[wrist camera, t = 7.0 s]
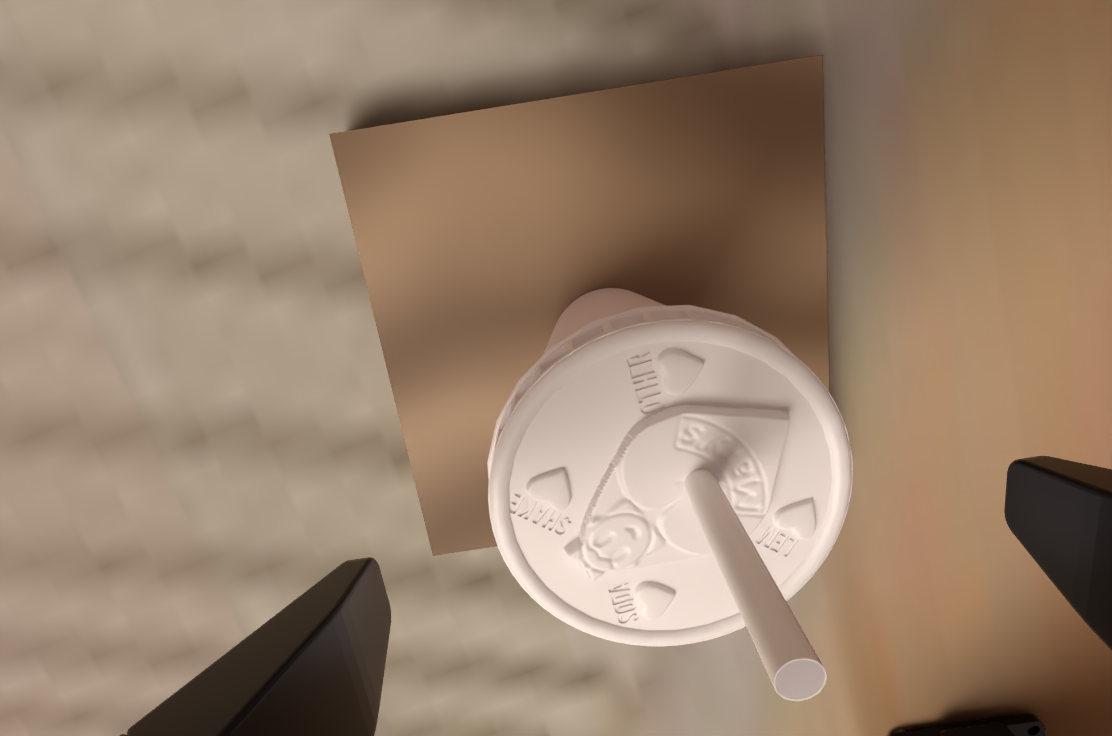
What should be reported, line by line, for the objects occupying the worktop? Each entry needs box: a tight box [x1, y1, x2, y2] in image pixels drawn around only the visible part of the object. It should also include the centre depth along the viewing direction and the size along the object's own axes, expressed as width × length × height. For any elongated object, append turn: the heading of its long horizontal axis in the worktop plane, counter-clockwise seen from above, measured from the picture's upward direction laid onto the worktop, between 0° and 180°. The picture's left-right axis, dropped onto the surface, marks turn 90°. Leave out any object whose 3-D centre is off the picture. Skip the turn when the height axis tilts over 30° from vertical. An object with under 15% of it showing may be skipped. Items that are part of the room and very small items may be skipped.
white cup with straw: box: [487, 288, 853, 701], centre depth 13 cm, size 6×6×14 cm
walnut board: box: [329, 55, 829, 556], centre depth 21 cm, size 14×14×2 cm
